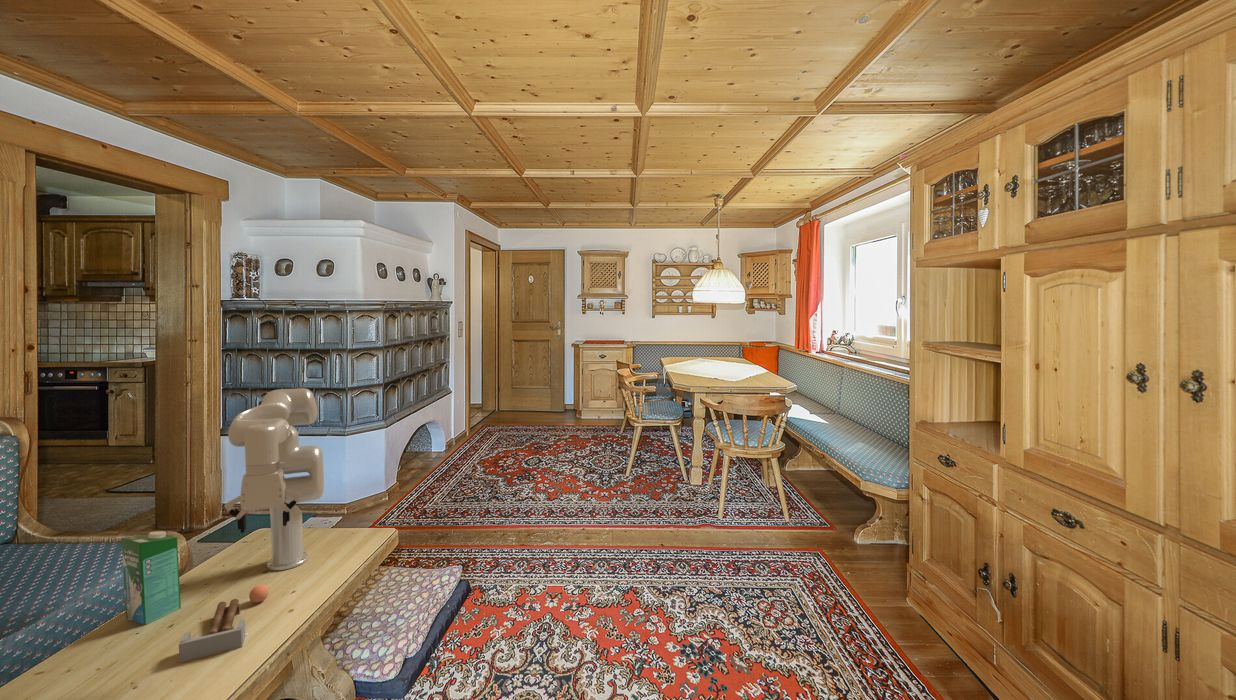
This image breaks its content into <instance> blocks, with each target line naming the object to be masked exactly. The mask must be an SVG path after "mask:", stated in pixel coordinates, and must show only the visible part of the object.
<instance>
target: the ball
mask: <svg viewBox="0 0 1236 700" xmlns="http://www.w3.org/2000/svg"><path fill="white" fill-rule="evenodd" d="M269 593H270V591H269V588H268V586H266V585H265V584H259V585H257V586H256V585H255V587H253V588H252V589H251V590H250V591H249V594H248V598H249V600H250V601H251V602H252V603H256V604H257V603H261V602H263V601H264V600H266V599H267V597H268V595H269Z"/></svg>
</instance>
